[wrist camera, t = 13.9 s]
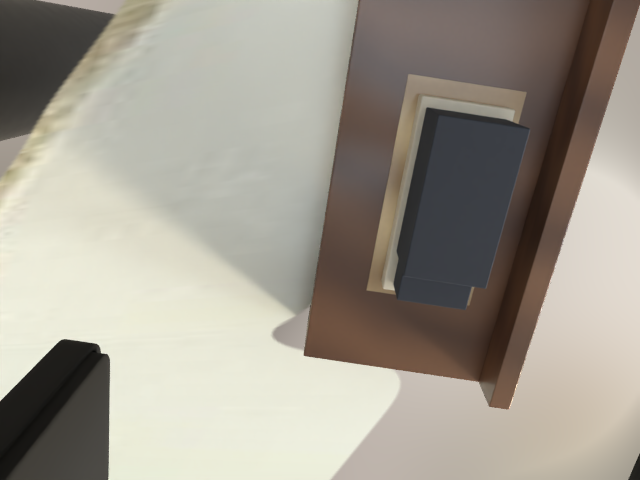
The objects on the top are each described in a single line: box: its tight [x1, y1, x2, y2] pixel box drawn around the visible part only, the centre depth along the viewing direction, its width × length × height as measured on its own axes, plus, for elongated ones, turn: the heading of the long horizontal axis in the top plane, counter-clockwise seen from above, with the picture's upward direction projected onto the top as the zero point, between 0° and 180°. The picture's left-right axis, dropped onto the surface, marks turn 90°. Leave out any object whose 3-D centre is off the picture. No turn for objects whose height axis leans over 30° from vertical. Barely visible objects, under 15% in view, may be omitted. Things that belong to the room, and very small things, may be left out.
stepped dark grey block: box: [381, 94, 530, 310], centre depth 26 cm, size 10×5×5 cm, turn 172°
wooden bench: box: [304, 0, 640, 409], centre depth 29 cm, size 22×12×6 cm, turn 172°
